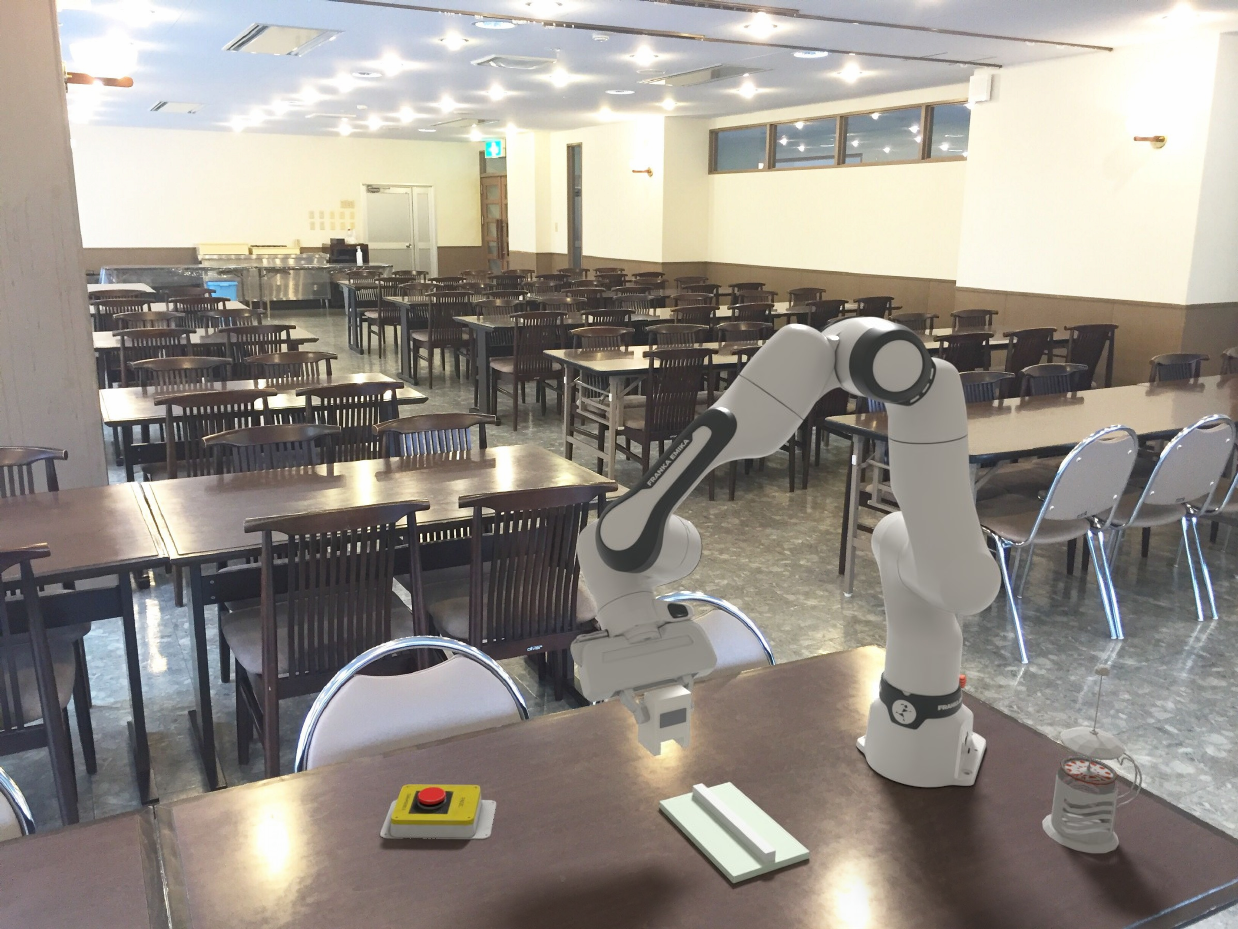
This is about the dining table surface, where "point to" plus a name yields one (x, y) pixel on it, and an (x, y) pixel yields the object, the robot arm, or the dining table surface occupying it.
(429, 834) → the emergency button
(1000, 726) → the dining table surface
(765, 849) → the rail board
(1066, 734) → the french press
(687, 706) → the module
